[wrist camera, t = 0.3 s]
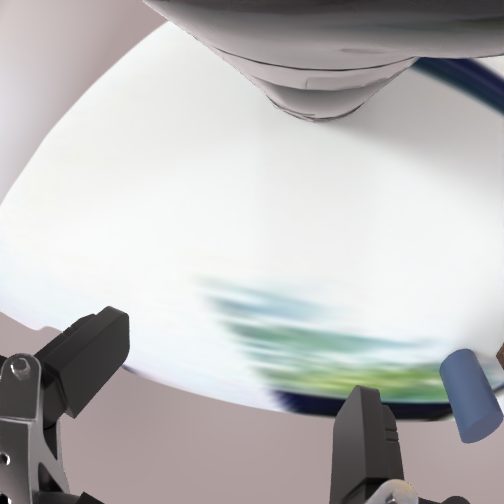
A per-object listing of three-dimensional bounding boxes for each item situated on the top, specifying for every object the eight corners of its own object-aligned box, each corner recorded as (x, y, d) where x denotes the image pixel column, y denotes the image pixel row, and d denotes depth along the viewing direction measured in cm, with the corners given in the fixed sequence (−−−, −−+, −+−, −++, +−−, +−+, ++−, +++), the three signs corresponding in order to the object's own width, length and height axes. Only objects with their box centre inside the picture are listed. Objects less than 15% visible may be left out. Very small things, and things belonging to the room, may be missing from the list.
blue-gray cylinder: (452, 346, 26) (482, 412, 17) (481, 351, 25) (511, 412, 16) (432, 377, 28) (452, 444, 19) (460, 381, 27) (483, 442, 18)
